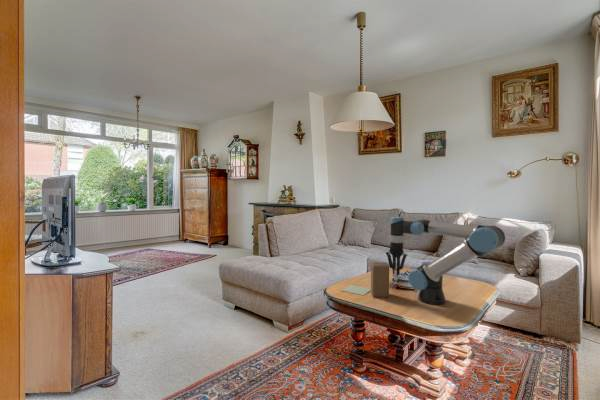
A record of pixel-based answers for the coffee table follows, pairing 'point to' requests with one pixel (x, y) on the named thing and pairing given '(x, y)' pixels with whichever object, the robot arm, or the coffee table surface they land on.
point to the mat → (356, 290)
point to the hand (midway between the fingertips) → (396, 279)
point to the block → (380, 279)
